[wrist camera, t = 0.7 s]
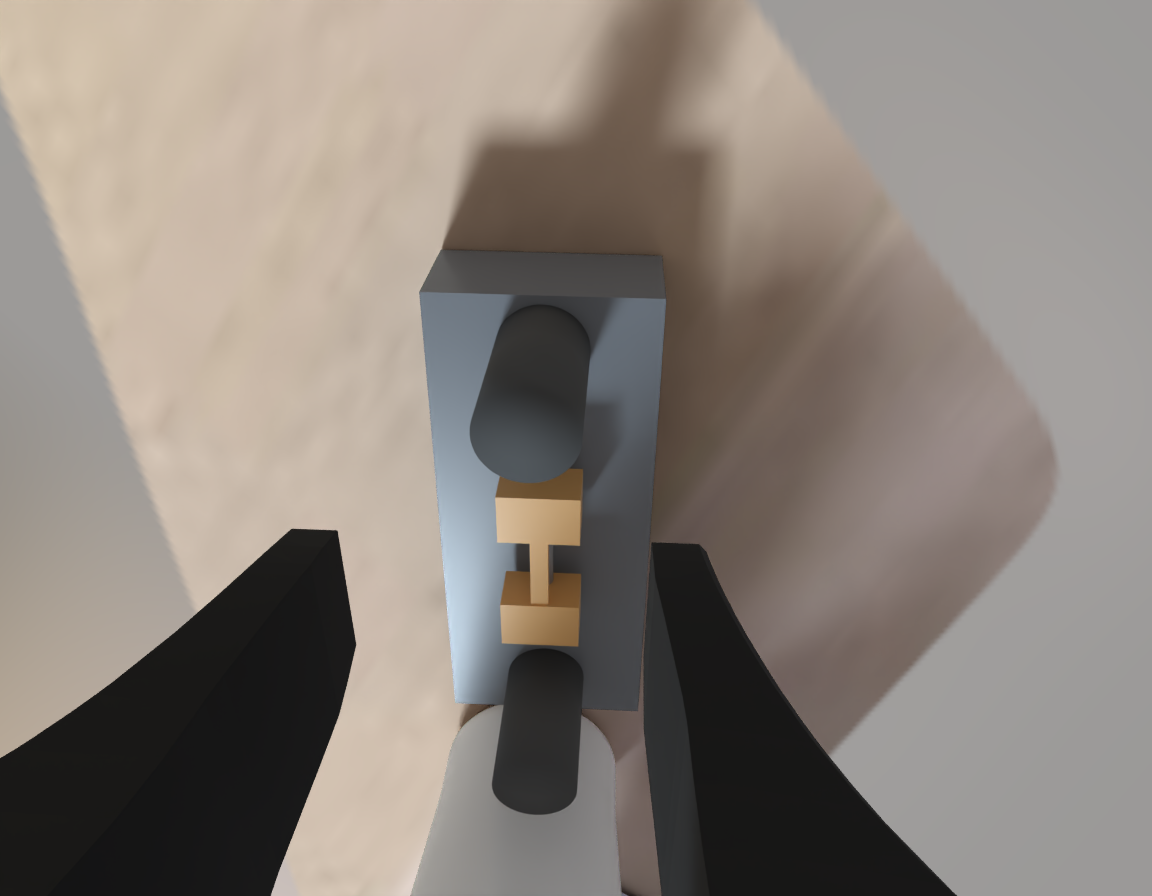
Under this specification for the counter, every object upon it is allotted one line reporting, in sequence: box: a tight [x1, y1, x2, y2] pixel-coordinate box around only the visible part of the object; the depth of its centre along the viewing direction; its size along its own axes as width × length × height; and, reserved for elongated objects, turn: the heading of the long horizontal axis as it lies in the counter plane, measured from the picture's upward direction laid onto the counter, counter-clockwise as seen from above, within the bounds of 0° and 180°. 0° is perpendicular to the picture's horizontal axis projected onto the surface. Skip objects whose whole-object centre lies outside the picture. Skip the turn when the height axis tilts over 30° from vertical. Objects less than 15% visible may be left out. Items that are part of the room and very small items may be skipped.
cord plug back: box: [492, 648, 584, 815], centre depth 22 cm, size 2×2×4 cm
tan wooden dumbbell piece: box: [495, 469, 583, 647], centre depth 20 cm, size 4×2×1 cm, turn 179°
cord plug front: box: [470, 305, 591, 483], centre depth 17 cm, size 2×2×4 cm
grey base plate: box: [419, 250, 666, 711], centre depth 22 cm, size 12×5×2 cm, turn 0°
